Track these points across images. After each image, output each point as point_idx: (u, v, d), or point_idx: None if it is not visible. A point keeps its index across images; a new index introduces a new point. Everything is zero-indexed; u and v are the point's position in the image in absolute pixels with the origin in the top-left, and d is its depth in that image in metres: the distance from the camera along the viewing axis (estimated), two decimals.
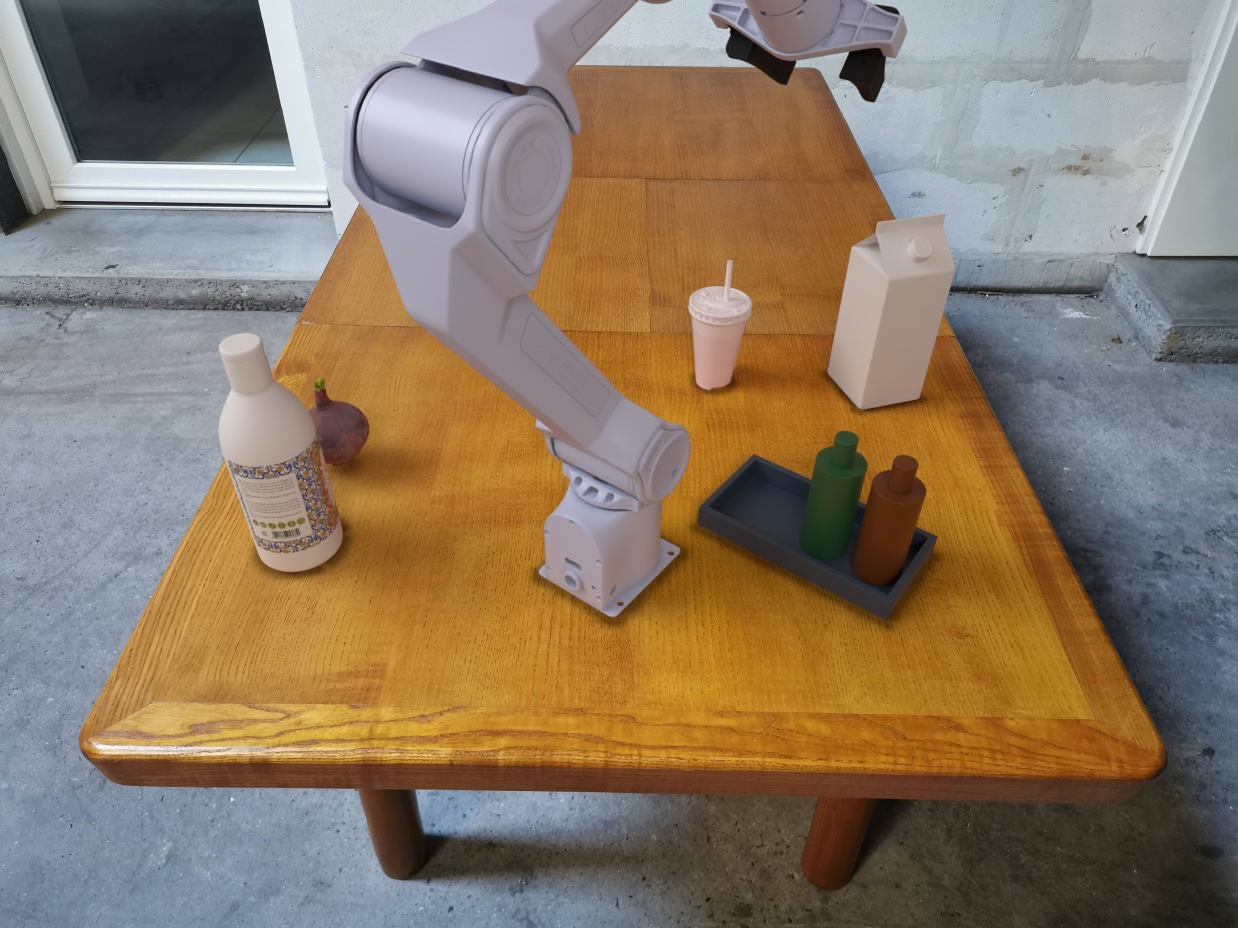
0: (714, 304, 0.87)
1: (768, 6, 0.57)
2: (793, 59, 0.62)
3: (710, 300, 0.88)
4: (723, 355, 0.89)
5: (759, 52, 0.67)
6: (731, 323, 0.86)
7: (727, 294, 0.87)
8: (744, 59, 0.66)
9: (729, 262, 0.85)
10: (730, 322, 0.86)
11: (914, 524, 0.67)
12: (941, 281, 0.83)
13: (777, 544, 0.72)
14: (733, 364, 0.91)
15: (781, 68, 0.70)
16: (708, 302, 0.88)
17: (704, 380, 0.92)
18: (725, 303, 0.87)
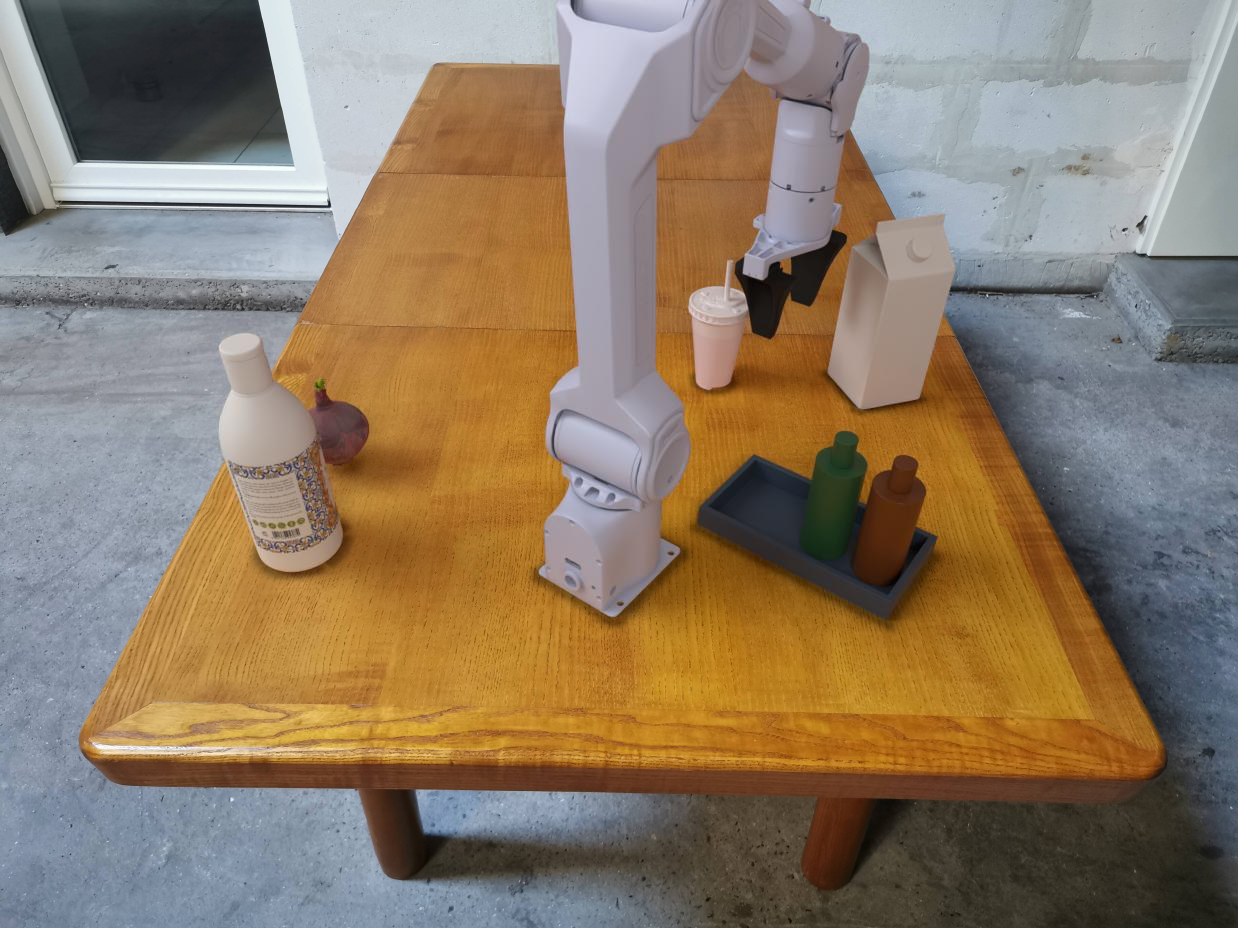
0: (714, 304, 0.87)
1: (797, 179, 0.73)
2: (828, 240, 0.78)
3: (710, 300, 0.88)
4: (723, 355, 0.89)
5: None
6: (731, 323, 0.86)
7: (727, 294, 0.87)
8: (797, 278, 0.76)
9: (729, 262, 0.85)
10: (730, 322, 0.86)
11: (914, 524, 0.67)
12: (941, 281, 0.83)
13: (777, 544, 0.72)
14: (733, 364, 0.91)
15: None
16: (708, 302, 0.88)
17: (704, 380, 0.92)
18: (725, 303, 0.87)
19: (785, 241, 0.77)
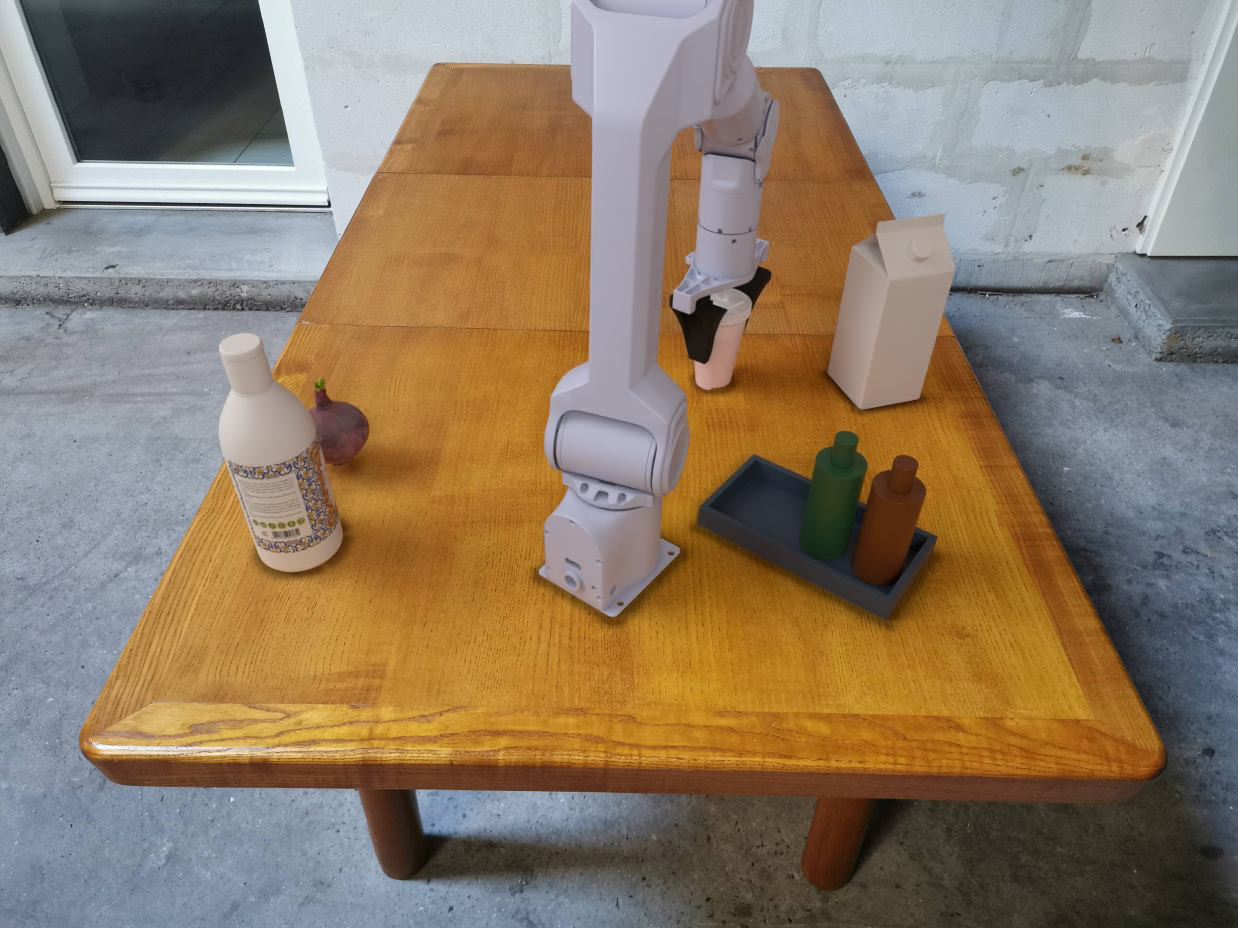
0: (714, 304, 0.87)
1: (727, 223, 0.80)
2: (753, 276, 0.85)
3: None
4: (723, 355, 0.89)
5: None
6: (730, 323, 0.86)
7: (727, 294, 0.87)
8: (725, 310, 0.83)
9: None
10: (730, 322, 0.86)
11: (914, 524, 0.67)
12: (941, 281, 0.83)
13: (777, 544, 0.72)
14: (733, 364, 0.91)
15: None
16: None
17: (704, 381, 0.92)
18: (725, 303, 0.87)
19: (712, 277, 0.84)
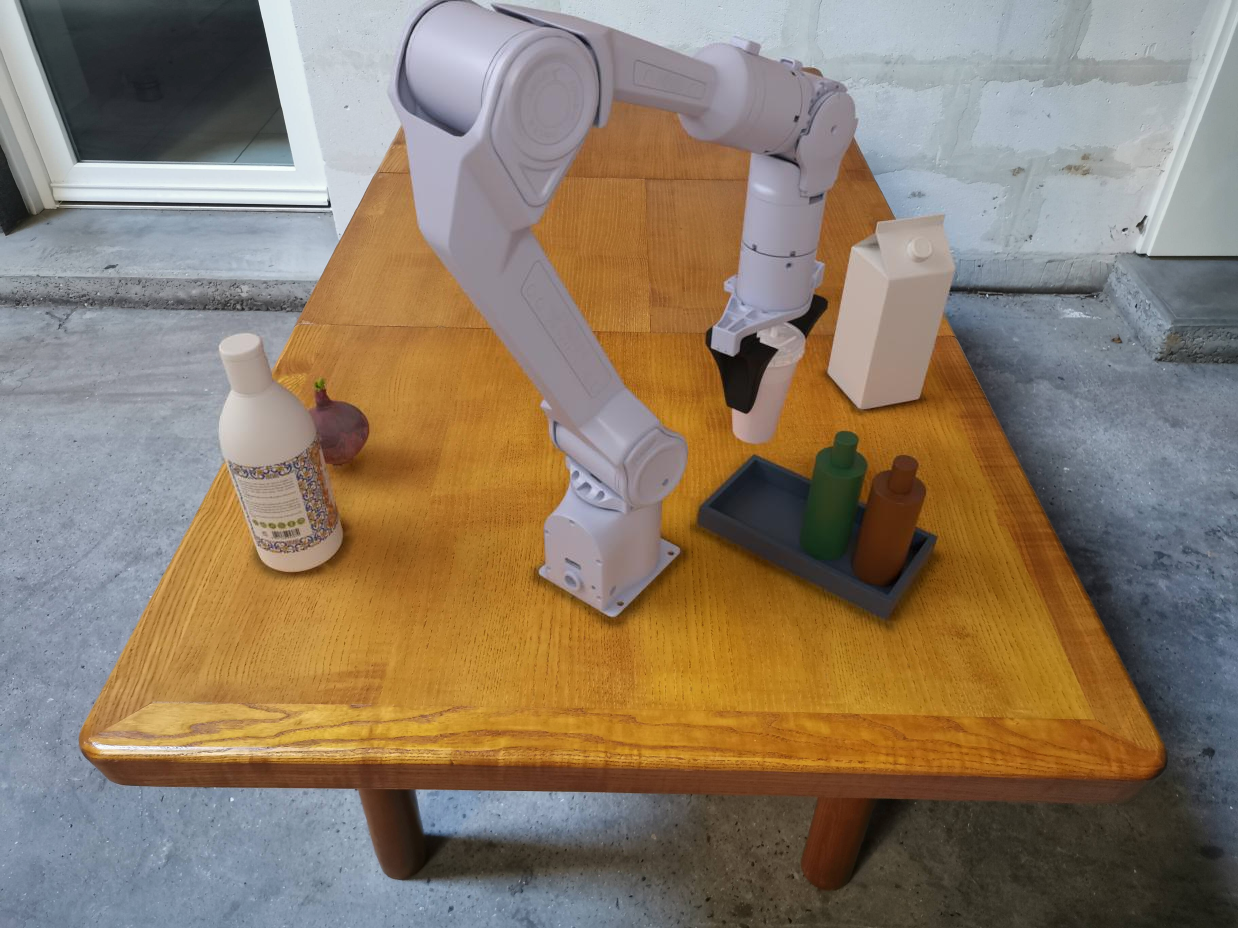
0: None
1: (762, 240, 0.64)
2: (809, 307, 0.68)
3: None
4: (769, 403, 0.73)
5: None
6: (781, 365, 0.70)
7: (776, 329, 0.71)
8: (776, 350, 0.67)
9: None
10: (780, 364, 0.70)
11: (914, 524, 0.67)
12: (941, 281, 0.83)
13: (777, 544, 0.72)
14: (780, 412, 0.75)
15: None
16: None
17: (744, 432, 0.76)
18: (773, 340, 0.71)
19: (760, 309, 0.67)
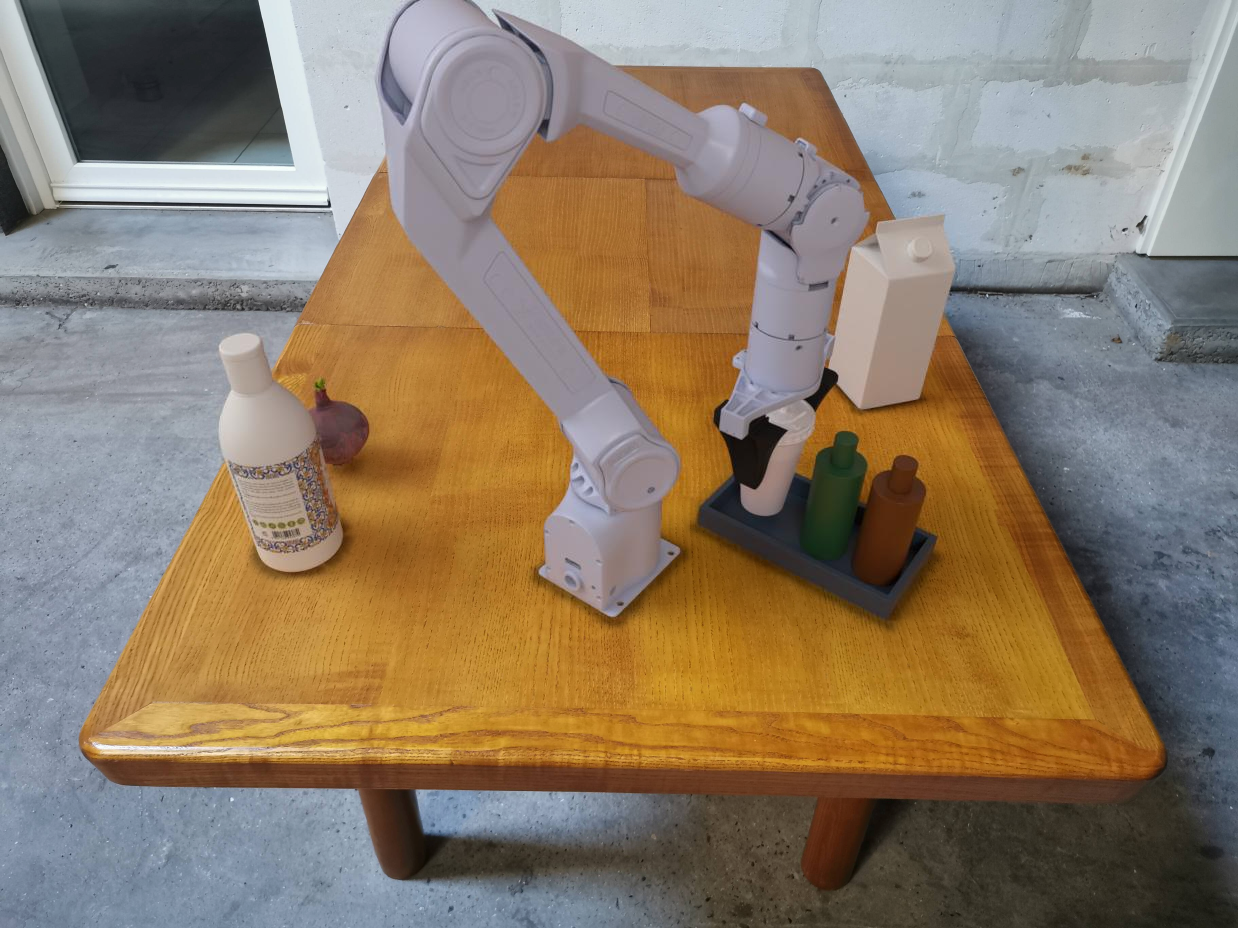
0: None
1: (763, 318, 0.63)
2: (819, 385, 0.67)
3: None
4: (779, 478, 0.72)
5: None
6: (790, 443, 0.69)
7: None
8: (785, 431, 0.66)
9: None
10: (789, 442, 0.69)
11: (914, 524, 0.67)
12: (941, 281, 0.83)
13: (777, 544, 0.72)
14: (789, 485, 0.74)
15: None
16: None
17: (753, 504, 0.75)
18: (782, 416, 0.70)
19: (769, 389, 0.66)
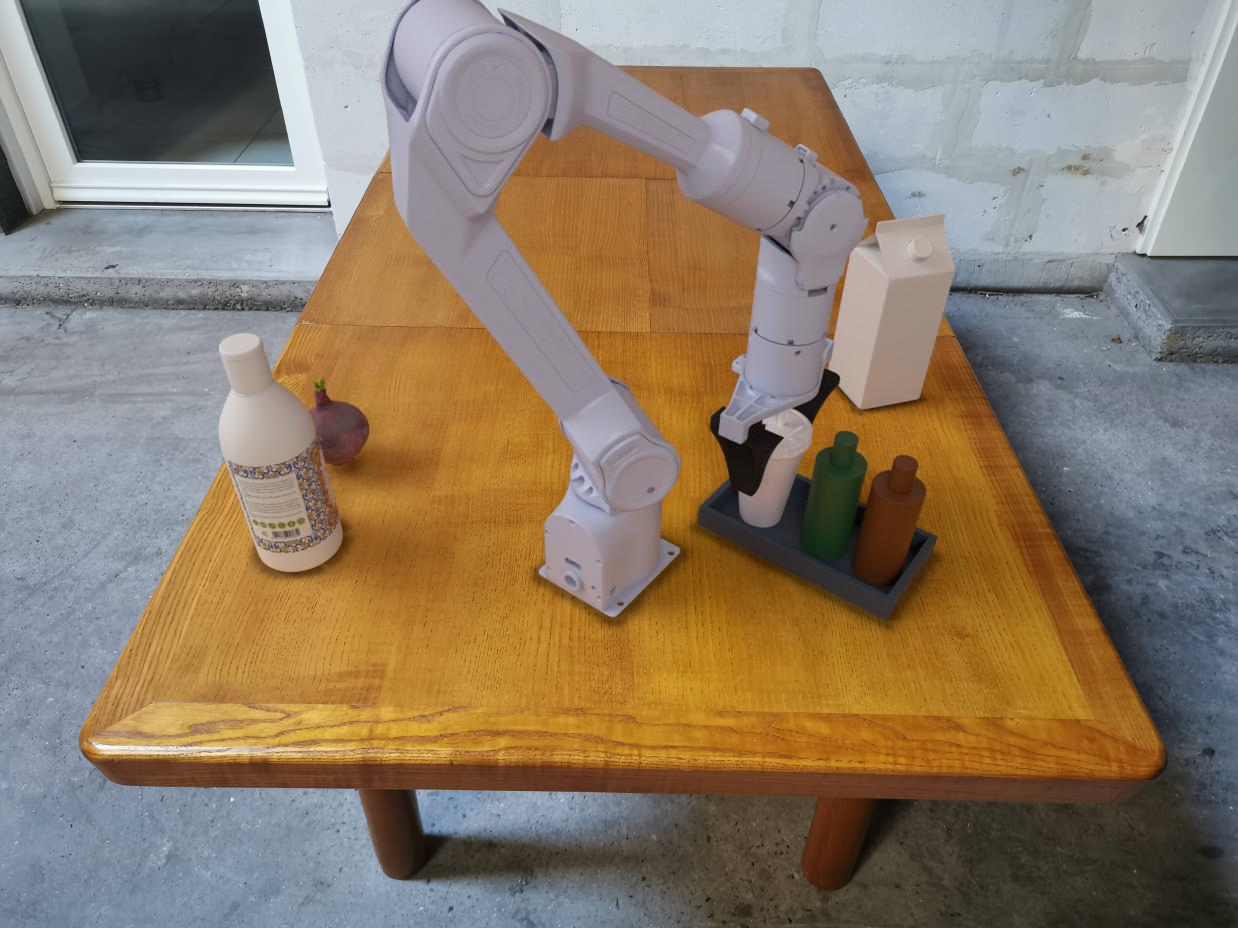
0: None
1: (762, 324, 0.63)
2: (818, 390, 0.68)
3: None
4: (776, 490, 0.73)
5: None
6: (788, 456, 0.70)
7: (783, 419, 0.71)
8: (781, 438, 0.66)
9: None
10: (787, 455, 0.69)
11: (914, 524, 0.67)
12: (941, 281, 0.83)
13: (777, 544, 0.72)
14: (787, 497, 0.75)
15: None
16: None
17: (751, 516, 0.75)
18: (780, 430, 0.71)
19: (768, 394, 0.66)
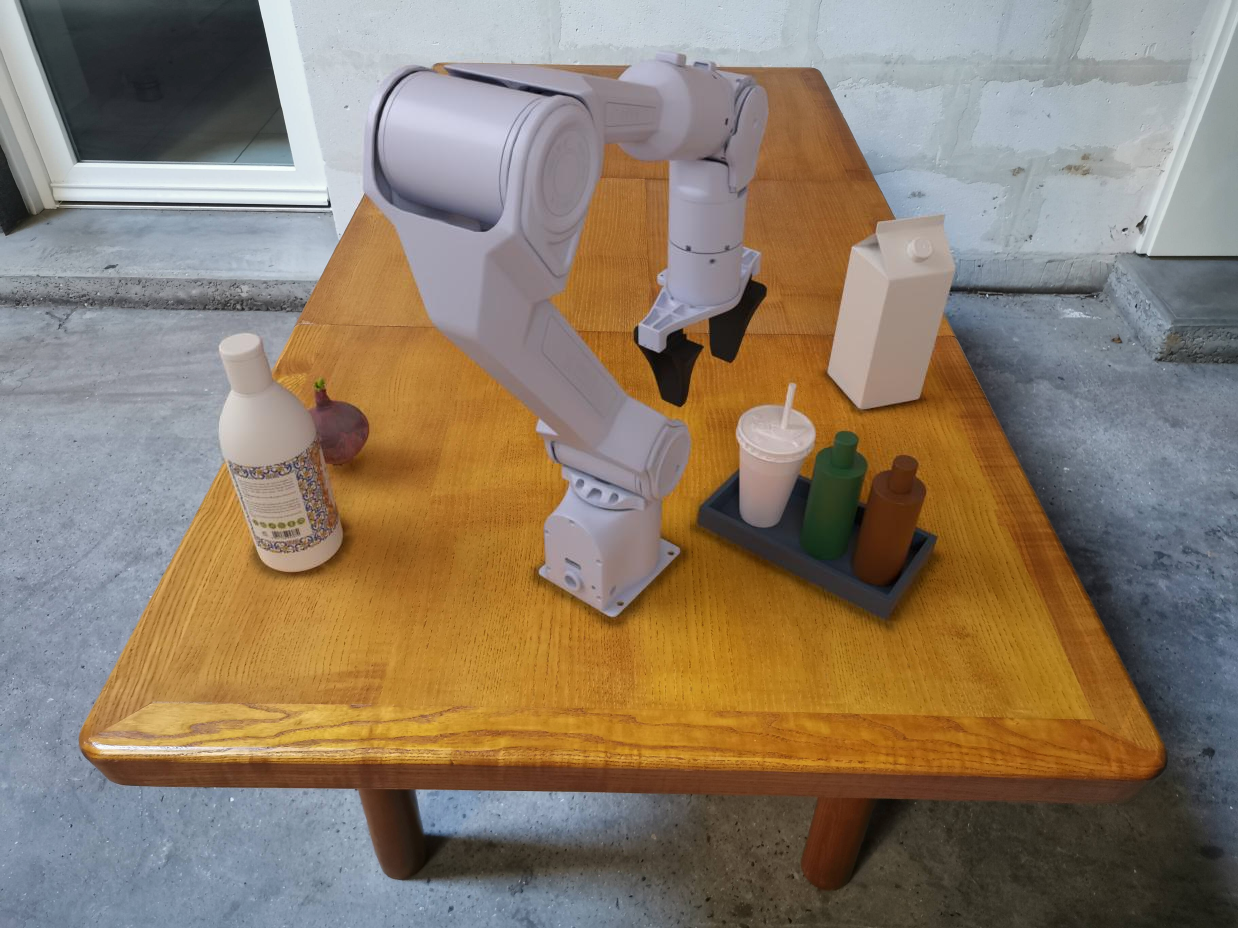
0: (769, 433, 0.70)
1: (696, 240, 0.64)
2: (739, 300, 0.69)
3: (764, 428, 0.71)
4: (778, 492, 0.73)
5: None
6: (790, 460, 0.69)
7: (786, 422, 0.70)
8: (701, 347, 0.68)
9: (791, 386, 0.68)
10: (790, 459, 0.69)
11: (914, 524, 0.67)
12: (941, 281, 0.83)
13: (777, 544, 0.72)
14: (787, 498, 0.75)
15: None
16: (762, 430, 0.70)
17: (751, 516, 0.75)
18: (783, 433, 0.70)
19: (688, 304, 0.68)
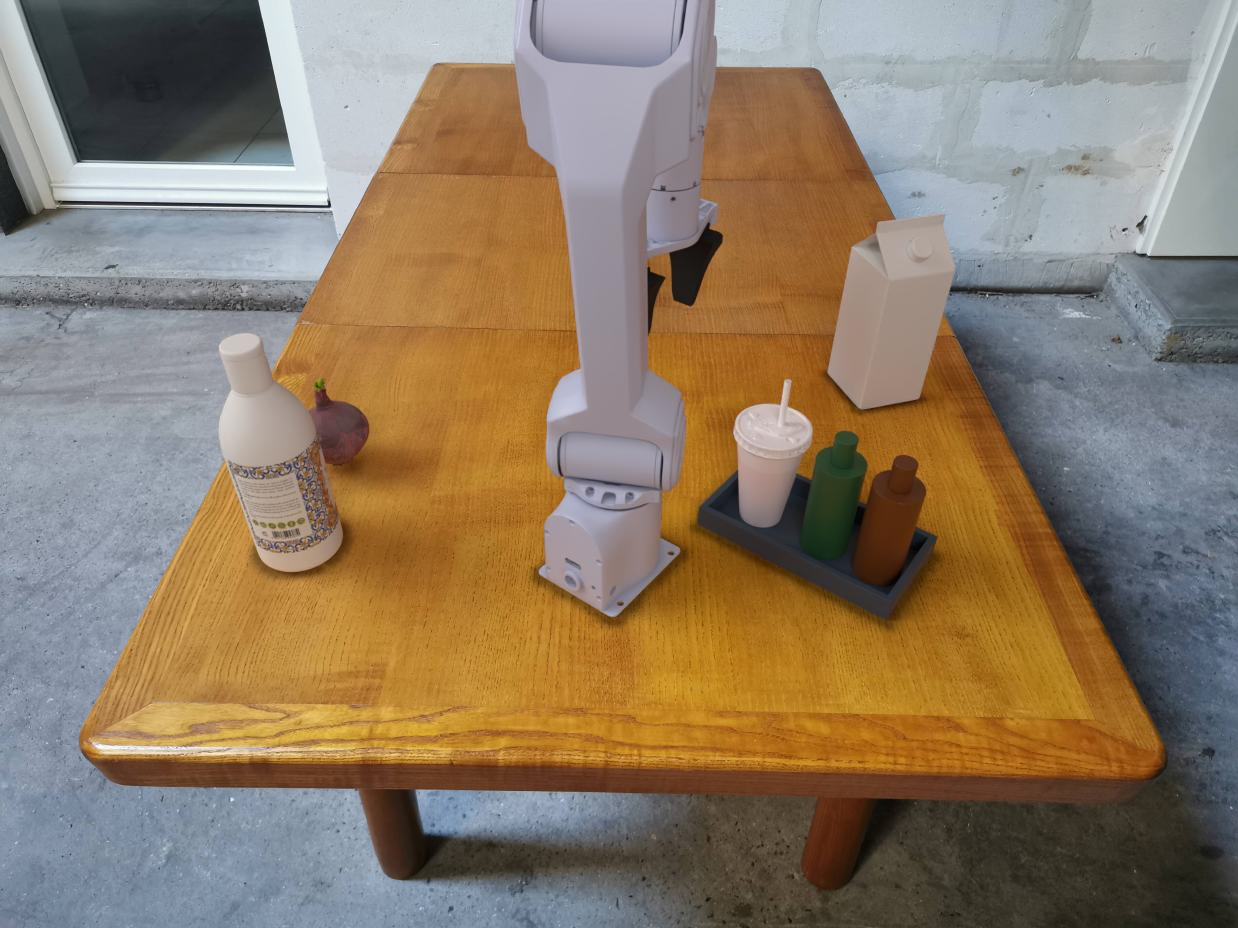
0: (766, 431, 0.71)
1: (671, 178, 0.72)
2: (697, 239, 0.77)
3: (761, 425, 0.71)
4: (776, 490, 0.73)
5: None
6: (788, 456, 0.70)
7: (783, 419, 0.71)
8: (662, 277, 0.76)
9: (787, 383, 0.68)
10: (787, 455, 0.69)
11: (914, 524, 0.67)
12: (941, 281, 0.83)
13: (777, 544, 0.72)
14: (787, 497, 0.75)
15: None
16: (759, 428, 0.71)
17: (751, 516, 0.75)
18: (780, 430, 0.71)
19: (651, 240, 0.76)
